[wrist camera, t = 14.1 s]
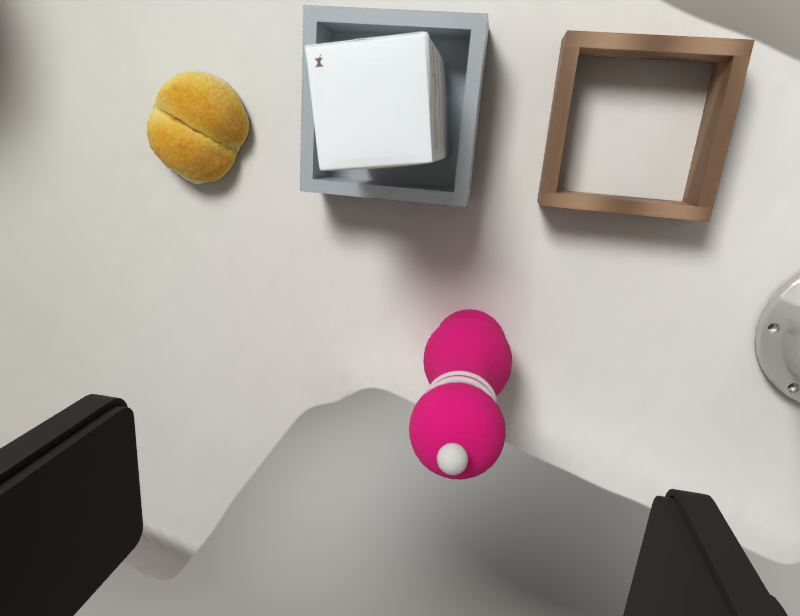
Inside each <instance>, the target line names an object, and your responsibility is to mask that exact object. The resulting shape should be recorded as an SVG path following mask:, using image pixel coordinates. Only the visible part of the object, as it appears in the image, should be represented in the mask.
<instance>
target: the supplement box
mask: <svg viewBox="0 0 800 616" xmlns="http://www.w3.org/2000/svg"><path fill="white" fill-rule="evenodd" d="M304 48H305V55H306V63H307V70H308V78H309V86H310V93H311V101H312V109H313V118H314V127H315V135H316V144H317V153H318V161H319V168H320V170H321V171H335V170H358V169H375V168H388V167H399V166H408V165H417V164H426V163H432V162H435V161H438V160H441V159H444V158H447V157H449V156H450V153H449V135H448V113H447V93H446V74H445V63H444V60H443V59H442V57H441V55H440V53H439V52H438V50H437V49H436V47H435V45H434V44H433V42H432V41H431V39H430V37H429V34H428V33H427V32H423V31H422V32H413V33H405V34H397V35H389V36H380V37H371V38H359V39H354V40H347V41H339V42H330V43H321V44H311V45H306V46H305V47H304Z"/></svg>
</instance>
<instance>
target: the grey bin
mask: <svg viewBox="0 0 800 616" xmlns="http://www.w3.org/2000/svg"><path fill="white" fill-rule="evenodd" d="M422 31H423V32H427V33H428V34H429V37H430V39H431V41H432V42H433V44H434V45H435V47H436V49H437V50H438V52H439V53H440V55H441V57H442V59H443V60H444V63H445V74H446V93H447V113H448V135H449V153H450V156H449V157H447V158H444V159H441V160H438V161H435V162H432V163H426V164H417V165H408V166H399V167H388V168H375V169H358V170H335V171H321V170H320V168H319V161H318V153H317V144H316V135H315V127H314V118H313V109H312V101H311V93H310V86H309V78H308V70H307V63H306V55H305V48H304V47H305V46H306V45H311V44H321V43H330V42H339V41H347V40H354V39H359V38H371V37H380V36H389V35H397V34H405V33H413V32H422ZM488 34H489V22H488V14H483V13H462V12H441V11H420V10H398V9H377V8H356V7H335V6H313V5H304V7H303V58H302V109H301V160H300V191H304V192H314V193H325V194H335V195H345V196H355V197H365V198H375V199H385V200H396V201H406V202H416V203H426V204H436V205H446V206H456V207H466V206H467V204H468V202H469V200H470V191H471V182H472V174H473V165H474V156H475V147H476V139H477V130H478V121H479V112H480V104H481V95H482V86H483V77H484V69H485V60H486V51H487V43H488Z"/></svg>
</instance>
